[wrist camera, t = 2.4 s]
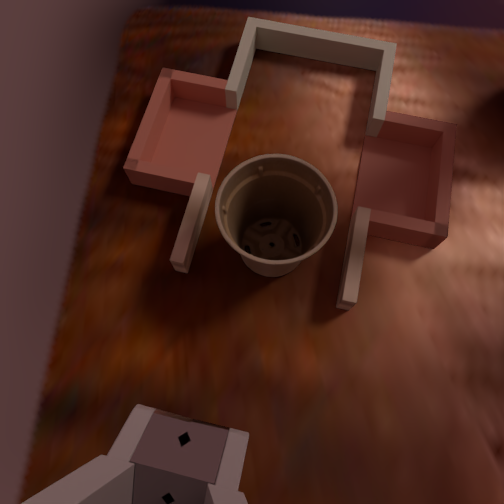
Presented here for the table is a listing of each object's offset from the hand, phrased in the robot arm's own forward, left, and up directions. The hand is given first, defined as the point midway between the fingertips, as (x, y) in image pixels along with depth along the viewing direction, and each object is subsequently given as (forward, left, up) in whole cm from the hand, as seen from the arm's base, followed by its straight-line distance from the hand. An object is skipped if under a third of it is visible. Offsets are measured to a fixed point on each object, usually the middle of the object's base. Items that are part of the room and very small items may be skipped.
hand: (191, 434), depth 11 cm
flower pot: (-13, -9, -26) cm, 30 cm away
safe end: (-29, -19, -26) cm, 43 cm away
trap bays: (-21, -14, -26) cm, 36 cm away
